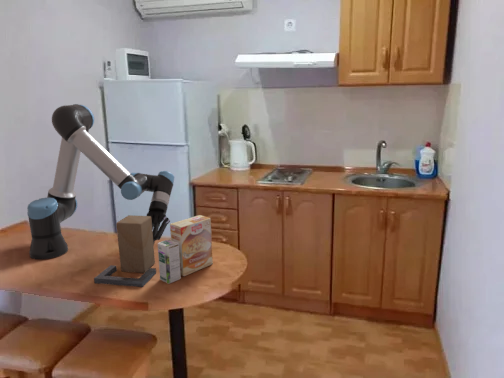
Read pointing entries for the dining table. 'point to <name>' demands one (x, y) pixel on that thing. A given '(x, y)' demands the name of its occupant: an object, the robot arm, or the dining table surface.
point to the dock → (123, 278)
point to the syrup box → (169, 261)
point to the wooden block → (135, 243)
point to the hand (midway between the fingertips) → (146, 254)
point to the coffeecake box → (193, 243)
